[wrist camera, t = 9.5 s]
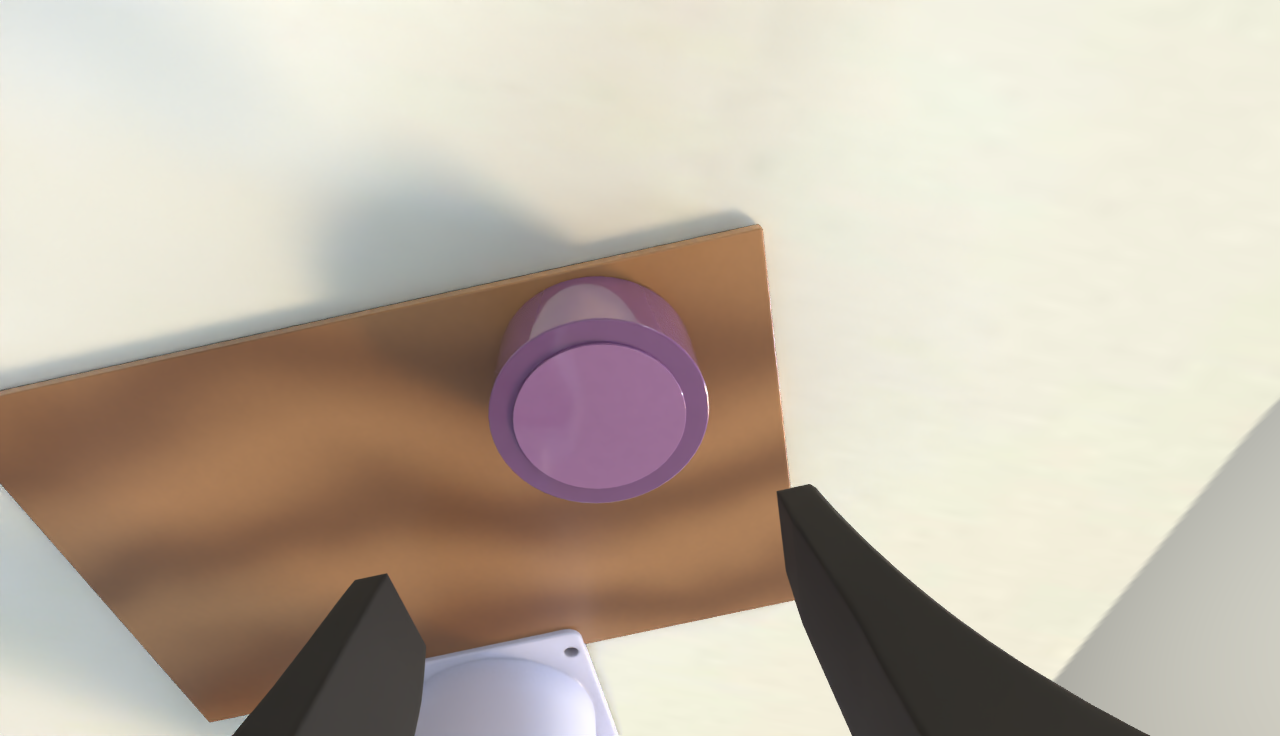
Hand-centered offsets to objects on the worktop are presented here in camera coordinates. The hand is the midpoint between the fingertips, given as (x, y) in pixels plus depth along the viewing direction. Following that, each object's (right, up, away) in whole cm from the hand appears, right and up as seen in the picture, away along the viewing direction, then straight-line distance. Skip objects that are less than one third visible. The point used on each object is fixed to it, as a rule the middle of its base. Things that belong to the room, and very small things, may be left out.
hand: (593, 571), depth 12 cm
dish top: (0, +4, +6) cm, 7 cm away
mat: (-5, -1, +9) cm, 10 cm away
